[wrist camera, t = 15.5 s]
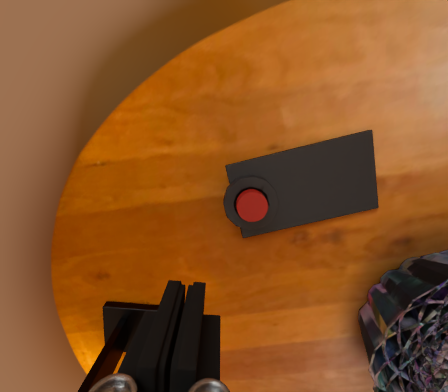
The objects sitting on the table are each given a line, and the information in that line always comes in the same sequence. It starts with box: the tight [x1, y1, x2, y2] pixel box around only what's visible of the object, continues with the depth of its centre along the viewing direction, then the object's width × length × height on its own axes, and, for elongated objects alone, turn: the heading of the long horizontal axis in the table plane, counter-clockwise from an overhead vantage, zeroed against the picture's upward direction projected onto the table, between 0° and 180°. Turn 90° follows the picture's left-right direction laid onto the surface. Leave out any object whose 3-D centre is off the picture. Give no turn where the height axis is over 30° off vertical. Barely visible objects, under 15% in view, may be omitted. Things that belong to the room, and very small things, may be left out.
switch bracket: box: [78, 301, 159, 392], centre depth 27 cm, size 8×10×16 cm
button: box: [236, 189, 268, 222], centre depth 27 cm, size 4×4×2 cm
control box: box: [224, 130, 378, 238], centre depth 28 cm, size 19×10×2 cm, turn 104°
